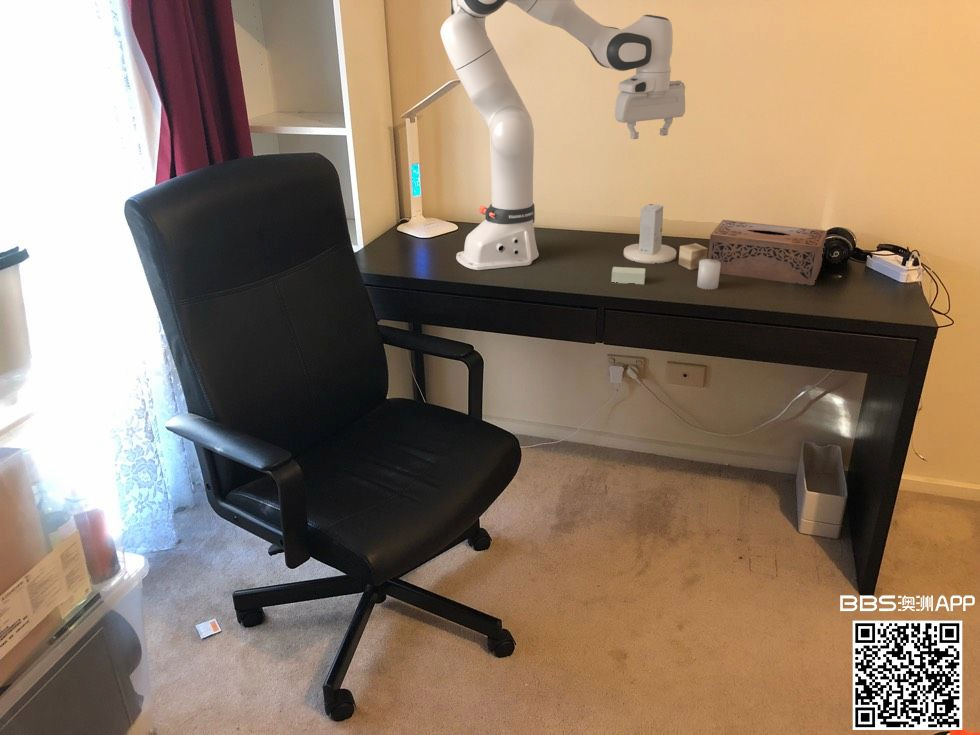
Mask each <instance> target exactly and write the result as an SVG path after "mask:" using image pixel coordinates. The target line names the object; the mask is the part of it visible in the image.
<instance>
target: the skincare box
mask: <svg viewBox="0 0 980 735" xmlns="http://www.w3.org/2000/svg"><path fill="white" fill-rule="evenodd" d="M663 216H664V205H661V204H654V203H653V204H652V203H649V204H647V205H645V206H643V207H642V208H641V209H640V223H639V240H638V244H639V253H643V254H650V255H653V254H655V253H656V252H658V251H659V250H660V249H661V244H662V237H663V219H664V218H663Z"/></svg>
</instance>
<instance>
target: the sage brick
mask: <svg viewBox="0 0 980 735" xmlns="http://www.w3.org/2000/svg"><path fill="white" fill-rule="evenodd" d="M645 280H646V268H645V267H644V268H642V267H627V266H626V267H621V266H612V270H611V280H610V281H611V282H615V283H614V284H628V283H635V284H634V285H645ZM611 282H610V283H611ZM616 282H618V283H616Z"/></svg>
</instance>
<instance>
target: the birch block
mask: <svg viewBox="0 0 980 735" xmlns="http://www.w3.org/2000/svg"><path fill="white" fill-rule="evenodd" d="M678 252H679V254H678V265H679V266H682V267H684V268H685V269H688V270H695V269H696V270H697V269H699V261H700V260H703V259H708V253H709V247H708V248H707V247H705V246H703V245H700V244H698V243H696V242H695V243H690V244H684V245H680V246H679V251H678Z"/></svg>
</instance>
